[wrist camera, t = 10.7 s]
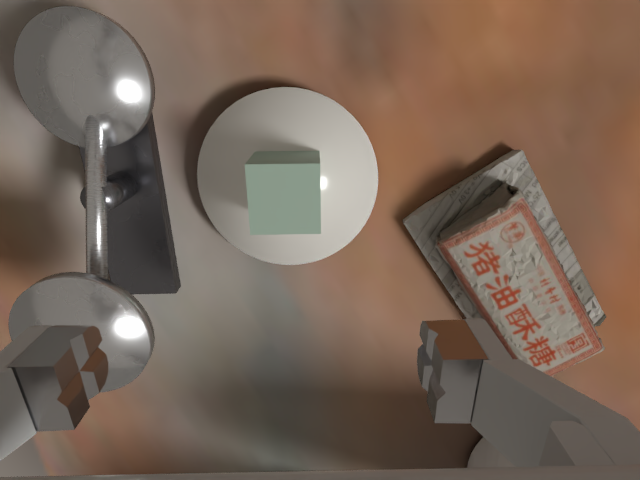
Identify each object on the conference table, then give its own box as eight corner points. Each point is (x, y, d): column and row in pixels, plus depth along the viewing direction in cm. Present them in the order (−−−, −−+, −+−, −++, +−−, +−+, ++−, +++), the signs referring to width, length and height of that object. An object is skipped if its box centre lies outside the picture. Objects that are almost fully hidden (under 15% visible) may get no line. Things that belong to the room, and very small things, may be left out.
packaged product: (638, 345, 31) (520, 402, 33) (597, 311, 36) (496, 363, 38) (547, 156, 25) (411, 240, 27) (512, 143, 30) (398, 217, 32)
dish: (191, 87, 28) (184, 88, 26) (378, 85, 28) (382, 85, 26) (213, 258, 32) (208, 266, 31) (372, 255, 33) (374, 263, 31)
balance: (35, 15, 26) (-121, -19, 17) (158, 14, 26) (72, -22, 17) (107, 308, 34) (31, 393, 25) (201, 306, 34) (159, 391, 25)
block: (255, 151, 28) (244, 164, 24) (319, 150, 28) (320, 163, 24) (259, 212, 30) (250, 234, 25) (320, 211, 30) (320, 233, 25)
